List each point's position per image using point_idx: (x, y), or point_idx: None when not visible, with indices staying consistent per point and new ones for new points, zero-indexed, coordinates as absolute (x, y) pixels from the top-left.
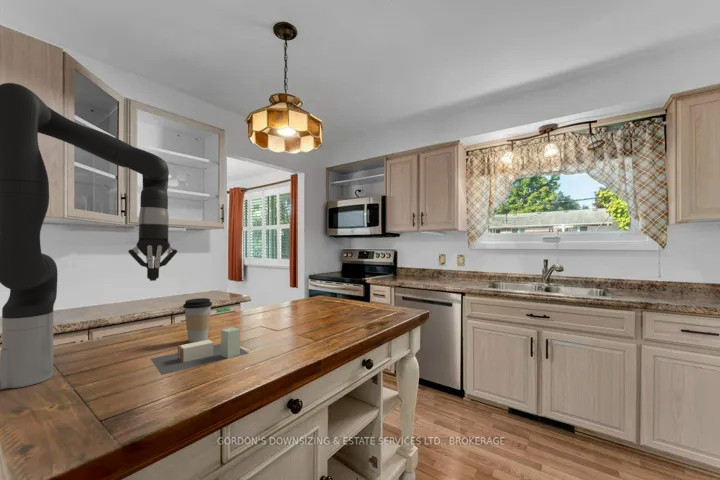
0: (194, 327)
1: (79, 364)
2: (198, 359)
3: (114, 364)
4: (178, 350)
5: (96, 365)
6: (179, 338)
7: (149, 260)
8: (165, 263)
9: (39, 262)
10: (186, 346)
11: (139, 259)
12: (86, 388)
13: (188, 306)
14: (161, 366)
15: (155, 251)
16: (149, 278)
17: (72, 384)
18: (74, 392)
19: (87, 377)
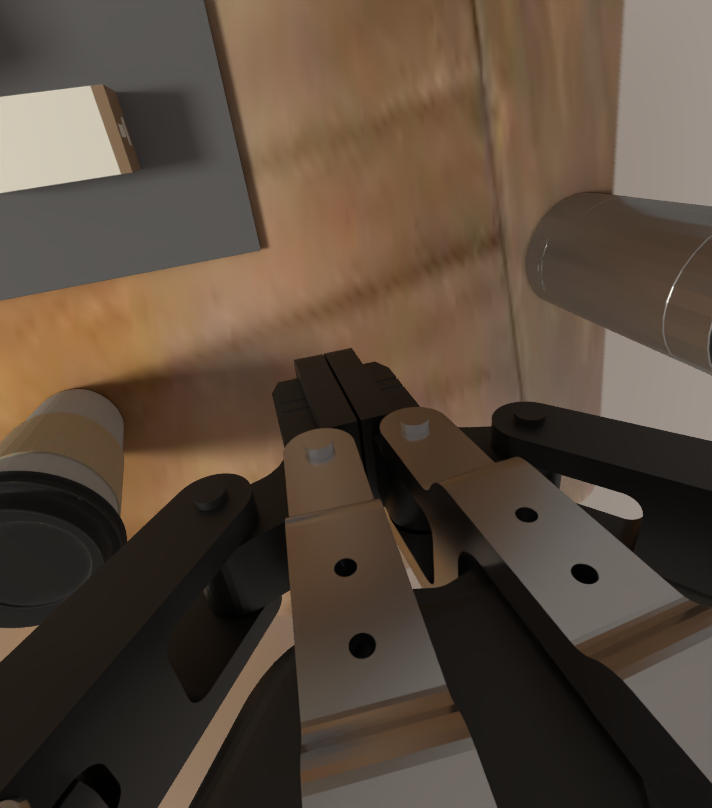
0: (72, 421)
1: (466, 338)
2: (24, 87)
3: (376, 277)
4: (129, 153)
5: (425, 299)
6: (172, 496)
7: (482, 468)
8: (184, 509)
9: None
10: (78, 123)
11: (647, 455)
12: (449, 34)
13: (77, 493)
14: (204, 94)
15: (469, 713)
16: (367, 365)
17: (484, 123)
18: (480, 15)
19: (447, 174)
